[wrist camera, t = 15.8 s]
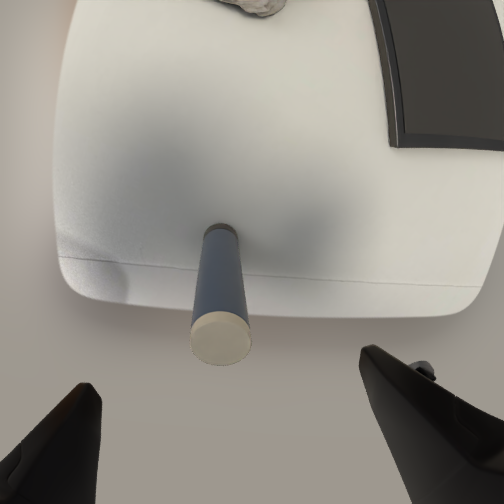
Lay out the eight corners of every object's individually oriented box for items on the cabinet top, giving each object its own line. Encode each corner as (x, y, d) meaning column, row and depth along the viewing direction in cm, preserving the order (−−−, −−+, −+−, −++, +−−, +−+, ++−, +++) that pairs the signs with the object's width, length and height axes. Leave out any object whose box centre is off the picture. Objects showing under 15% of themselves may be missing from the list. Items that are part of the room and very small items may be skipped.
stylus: (244, 237, 19) (264, 341, 10) (222, 260, 20) (225, 374, 11) (218, 216, 18) (214, 310, 9) (196, 241, 19) (177, 348, 10)
